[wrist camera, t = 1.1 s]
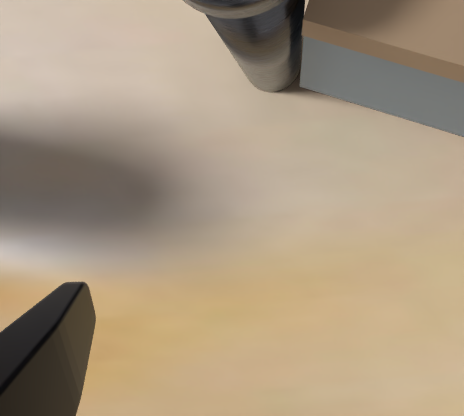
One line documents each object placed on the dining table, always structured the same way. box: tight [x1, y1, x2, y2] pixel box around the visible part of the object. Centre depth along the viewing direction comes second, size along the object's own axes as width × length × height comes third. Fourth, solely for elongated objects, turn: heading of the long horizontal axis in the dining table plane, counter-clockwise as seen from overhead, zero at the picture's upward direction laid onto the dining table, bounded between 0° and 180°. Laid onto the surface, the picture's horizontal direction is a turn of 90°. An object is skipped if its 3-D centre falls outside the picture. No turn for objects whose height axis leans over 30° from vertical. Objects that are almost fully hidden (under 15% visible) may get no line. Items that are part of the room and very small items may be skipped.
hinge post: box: [183, 0, 305, 92], centre depth 15 cm, size 4×4×15 cm
